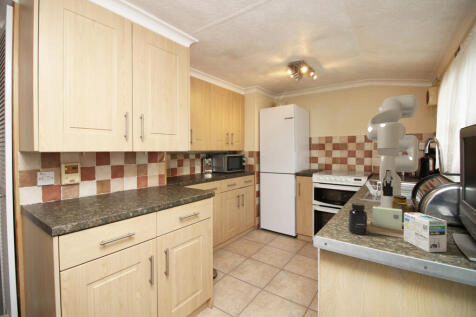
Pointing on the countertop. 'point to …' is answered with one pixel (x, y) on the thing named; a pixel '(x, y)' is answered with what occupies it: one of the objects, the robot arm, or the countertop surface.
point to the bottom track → (385, 230)
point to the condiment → (400, 204)
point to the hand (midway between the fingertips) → (387, 193)
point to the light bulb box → (425, 232)
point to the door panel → (387, 217)
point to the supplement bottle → (357, 219)
